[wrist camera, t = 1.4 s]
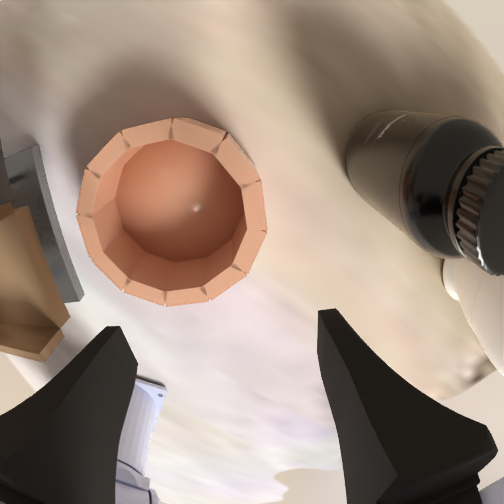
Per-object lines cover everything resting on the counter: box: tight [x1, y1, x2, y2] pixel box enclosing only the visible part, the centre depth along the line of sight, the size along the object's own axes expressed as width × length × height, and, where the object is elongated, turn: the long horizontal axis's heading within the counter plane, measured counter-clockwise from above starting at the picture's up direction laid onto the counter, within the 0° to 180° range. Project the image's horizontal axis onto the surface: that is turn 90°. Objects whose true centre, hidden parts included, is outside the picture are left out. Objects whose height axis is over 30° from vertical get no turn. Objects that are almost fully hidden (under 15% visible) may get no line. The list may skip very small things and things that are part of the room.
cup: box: [76, 118, 267, 306], centre depth 17 cm, size 10×10×4 cm
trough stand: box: [0, 145, 84, 303], centre depth 16 cm, size 6×12×8 cm, turn 8°
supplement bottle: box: [346, 110, 504, 276], centre depth 14 cm, size 7×7×12 cm
